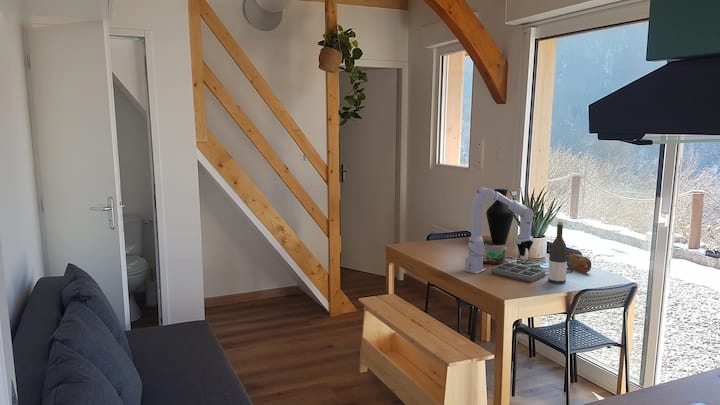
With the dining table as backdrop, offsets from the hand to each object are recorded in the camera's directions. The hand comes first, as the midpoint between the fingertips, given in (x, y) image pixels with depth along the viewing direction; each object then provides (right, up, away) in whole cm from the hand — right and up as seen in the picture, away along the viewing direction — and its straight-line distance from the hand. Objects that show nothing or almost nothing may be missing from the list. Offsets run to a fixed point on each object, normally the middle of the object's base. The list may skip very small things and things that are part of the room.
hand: (524, 254), depth 271 cm
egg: (0, -2, 0) cm, 2 cm away
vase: (+2, +1, +56) cm, 56 cm away
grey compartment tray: (-7, -9, -11) cm, 16 cm away
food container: (-13, -6, +10) cm, 18 cm away
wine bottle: (+9, -11, -23) cm, 27 cm away
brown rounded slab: (+27, -8, -4) cm, 28 cm away
